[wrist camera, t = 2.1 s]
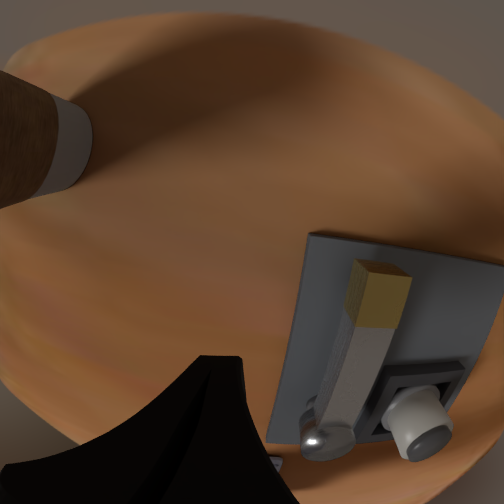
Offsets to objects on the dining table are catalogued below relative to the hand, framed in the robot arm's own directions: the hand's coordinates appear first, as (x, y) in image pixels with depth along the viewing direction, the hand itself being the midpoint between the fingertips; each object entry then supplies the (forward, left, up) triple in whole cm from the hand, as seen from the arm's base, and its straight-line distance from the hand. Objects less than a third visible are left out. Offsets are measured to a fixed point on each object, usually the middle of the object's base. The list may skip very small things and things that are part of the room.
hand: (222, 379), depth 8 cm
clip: (-3, -6, -5) cm, 8 cm away
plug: (-7, -13, -7) cm, 17 cm away
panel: (-4, -11, -7) cm, 14 cm away
